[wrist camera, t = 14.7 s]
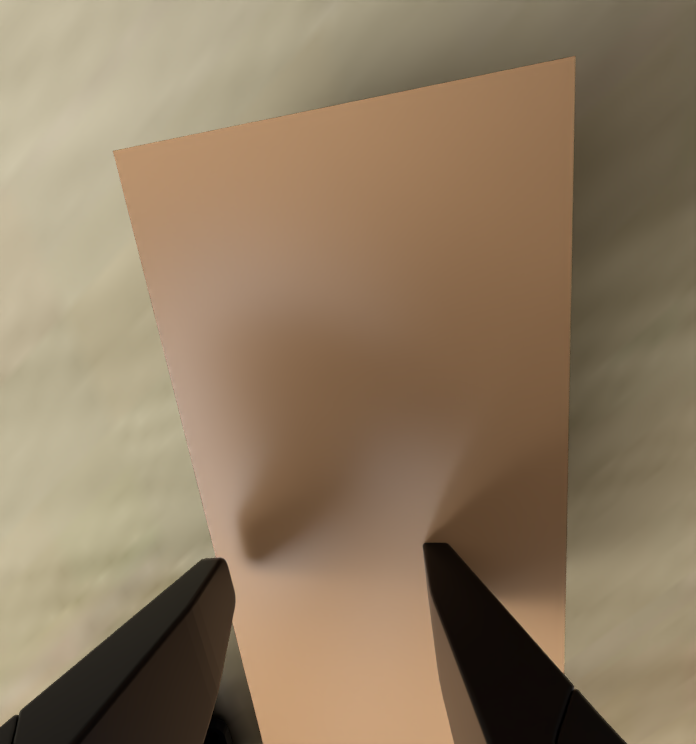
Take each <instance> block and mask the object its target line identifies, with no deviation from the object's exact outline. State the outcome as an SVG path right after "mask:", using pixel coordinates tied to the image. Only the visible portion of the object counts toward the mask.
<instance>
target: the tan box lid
mask: <svg viewBox="0 0 696 744" xmlns="http://www.w3.org/2000/svg"><path fill="white" fill-rule="evenodd" d="M574 111H575V56H572V57H567V58H562V59H557V60H552V61H548V62H543V63H538V64H533V65H528V66H523V67H518V68H514V69H509V70H504V71H499V72H494V73H489V74H484V75H480V76H475V77H470V78H465V79H460V80H455V81H450V82H446V83H441V84H436V85H431V86H426V87H421V88H416V89H412V90H407V91H402V92H397V93H392V94H387V95H382V96H378V97H373V98H368V99H363V100H358V101H353V102H348V103H344V104H339V105H334V106H329V107H324V108H319V109H314V110H310V111H305V112H300V113H295V114H290V115H285V116H280V117H276V118H271V119H266V120H261V121H256V122H251V123H246V124H242V125H237V126H232V127H227V128H222V129H217V130H212V131H207V132H203V133H198V134H193V135H188V136H183V137H178V138H173V139H169V140H164V141H159V142H154V143H149V144H144V145H139V146H135V147H130V148H125V149H120V150H115V151H113V153H114V157H115V161H116V165H117V169H118V173H119V176H120V180H121V184H122V188H123V192H124V196H125V200H126V204H127V208H128V212H129V216H130V220H131V224H132V228H133V232H134V236H135V240H136V244H137V248H138V251H139V255H140V259H141V263H142V267H143V271H144V275H145V279H146V283H147V287H148V291H149V295H150V299H151V303H152V307H153V311H154V315H155V319H156V323H157V326H158V330H159V334H160V338H161V342H162V346H163V350H164V354H165V358H166V362H167V366H168V370H169V374H170V378H171V382H172V386H173V390H174V394H175V398H176V402H177V405H178V409H179V413H180V417H181V421H182V425H183V429H184V433H185V437H186V441H187V445H188V449H189V453H190V457H191V461H192V465H193V469H194V473H195V477H196V480H197V484H198V488H199V492H200V496H201V500H202V504H203V508H204V512H205V516H206V520H207V524H208V528H209V532H210V536H211V540H212V544H213V548H214V552H215V556H216V558H219V557H221V558H224V559H225V560H226V562H227V564H228V568H229V571H230V575H231V579H232V583H233V586H234V590H235V596H236V603H235V610H234V615H233V620H232V623H233V627H234V631H235V634H236V638H237V642H238V646H239V650H240V654H241V658H242V662H243V666H244V670H245V674H246V678H247V682H248V686H249V690H250V694H251V698H252V702H253V706H254V709H255V713H256V717H257V721H258V725H259V729H260V733H261V737H262V741H263V744H454V741H453V737H452V733H451V729H450V725H449V720H448V716H447V712H446V708H445V704H444V700H443V696H442V691H441V686H440V682H439V675H438V669H437V662H436V654H435V646H434V638H433V631H432V623H431V615H430V607H429V599H428V591H427V582H426V573H425V564H424V555H423V544H424V543H448V544H449V545H450V546H451V547H452V548H453V549H454V550H455V552H456V553H457V554H458V555H459V556H460V557H461V558H462V559H463V561H464V562H465V563H466V564H467V565H468V566H469V567H470V568H471V570H472V571H473V572H474V573H475V574H476V575H477V576H478V578H479V579H480V580H481V581H482V582H483V583H484V584H485V585H486V587H487V588H488V589H489V590H490V591H491V592H492V593H493V594H494V596H495V597H496V598H497V599H498V600H499V601H500V602H501V604H502V605H503V606H504V607H505V608H506V609H507V610H508V611H509V613H510V614H511V615H512V616H513V617H514V618H515V619H516V621H517V622H518V623H519V624H520V625H521V626H522V627H523V628H524V630H525V631H526V632H527V633H528V634H529V635H530V636H531V637H532V639H533V640H534V641H535V642H536V643H537V644H538V645H539V647H540V648H541V649H542V650H543V651H544V652H545V653H546V654H547V656H548V657H549V658H550V659H551V660H552V661H553V662H554V663H555V665H556V666H557V667H558V668H559V669H560V670H561V671H562V673H563V674H564V659H565V604H566V549H567V494H568V440H569V385H570V330H571V275H572V221H573V166H574Z"/></svg>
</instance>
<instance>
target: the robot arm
mask: <svg viewBox="0 0 696 744" xmlns="http://www.w3.org/2000/svg"><path fill="white" fill-rule="evenodd" d="M423 555H424V564H425V573H426V582H427V591H428V599H429V607H430V615H431V623H432V631H433V638H434V646H435V654H436V662H437V669H438V675H439V682H440V686H441V691H442V696H443V700H444V704H445V708H446V712H447V716H448V720H449V725H450V729H451V733H452V737H453V741H454V744H627V743H626V742H625V741H624V740H623V739H622V738H621V737H620V736H619V735H618V734H617V732H616V731H615V730H614V729H613V728H612V727H611V726H610V725H609V724H608V723H607V722H606V721H605V720H604V719H603V717H602V716H601V715H600V714H599V713H598V712H597V711H596V710H595V709H594V707H593V706H592V705H591V704H590V703H589V702H588V701H587V699H586V698H585V697H584V696H583V695H582V694H581V693H580V691H579V690H577V689H575V690H574V685H573V684H572V683H571V682H570V680H569V679H568V678H567V677H566V676H565V675H564V674H563V673H562V671H561V670H560V669H559V668H558V667H557V666H556V665H555V663H554V662H553V661H552V660H551V659H550V658H549V657H548V656H547V654H546V653H545V652H544V651H543V650H542V649H541V648H540V647H539V645H538V644H537V643H536V642H535V641H534V640H533V639H532V637H531V636H530V635H529V634H528V633H527V632H526V631H525V630H524V628H523V627H522V626H521V625H520V624H519V623H518V622H517V621H516V619H515V618H514V617H513V616H512V615H511V614H510V613H509V611H508V610H507V609H506V608H505V607H504V606H503V605H502V604H501V602H500V601H499V600H498V599H497V598H496V597H495V596H494V594H493V593H492V592H491V591H490V590H489V589H488V588H487V587H486V585H485V584H484V583H483V582H482V581H481V580H480V579H479V578H478V576H477V575H476V574H475V573H474V572H473V571H472V570H471V568H470V567H469V566H468V565H467V564H466V563H465V562H464V561H463V559H462V558H461V557H460V556H459V555H458V554H457V553H456V552H455V550H454V549H453V548H452V547H451V546H450V545H449V544H448V543H424V544H423ZM235 603H236V596H235V590H234V586H233V583H232V579H231V575H230V571H229V568H228V564H227V562H226V560H225V559H224V558H221V557H219V558H206V559H202V560H201V561H199V562H198V563H197V564H196V565H194V566H193V567H192V568H191V569H190V570H188V571H187V572H186V573H185V574H184V575H182V576H181V577H180V578H179V579H178V580H176V581H175V582H174V583H173V584H172V585H170V586H169V587H168V588H167V589H166V590H164V591H163V592H162V593H161V594H160V595H158V596H157V597H156V598H155V599H154V600H152V601H151V602H150V603H149V604H148V605H146V606H145V607H144V608H143V609H142V610H140V611H139V612H138V613H137V614H136V615H134V616H133V617H132V618H131V619H130V620H128V621H127V622H126V623H125V624H124V625H122V626H121V627H120V628H119V629H118V630H116V631H115V632H114V633H113V634H112V635H110V636H109V637H108V638H107V639H106V640H104V641H103V642H102V643H101V644H100V645H98V646H97V647H96V648H95V649H94V650H92V651H91V652H90V653H89V654H88V655H86V656H85V657H84V658H83V659H82V660H80V661H79V662H78V663H77V664H76V665H74V666H73V667H72V668H71V669H70V670H68V671H67V672H66V673H65V674H64V675H62V676H61V677H60V678H59V679H58V680H56V681H55V682H54V683H53V684H52V685H50V686H49V687H48V688H47V689H46V690H44V691H43V692H42V693H41V694H40V695H38V696H37V697H36V698H35V699H34V700H32V701H31V702H30V703H29V704H27V705H26V706H25V707H24V708H23V709H22V710H21V711H20V713H19V715H14V716H13V717H12V718H11V719H9V720H8V721H7V722H6V723H5V724H3V725H2V726H1V727H0V744H232V740H231V737H230V733H229V729H228V726H227V724H226V723H225V722H224V721H222V720H220V719H215V718H211V716H212V713H213V709H214V706H215V702H216V699H217V695H218V691H219V686H220V682H221V677H222V672H223V667H224V661H225V656H226V651H227V646H228V641H229V636H230V631H231V625H232V620H233V615H234V610H235Z"/></svg>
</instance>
